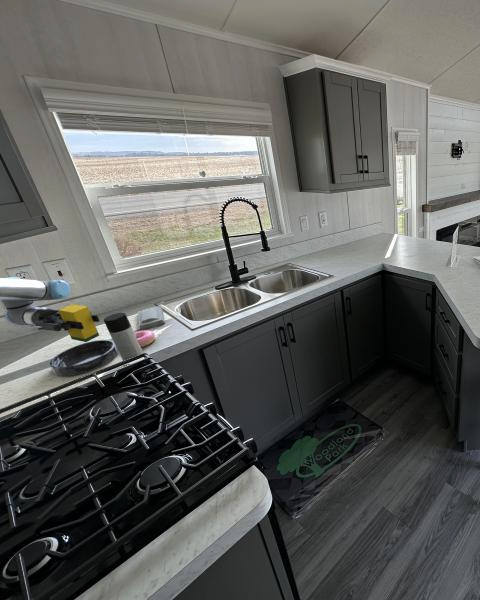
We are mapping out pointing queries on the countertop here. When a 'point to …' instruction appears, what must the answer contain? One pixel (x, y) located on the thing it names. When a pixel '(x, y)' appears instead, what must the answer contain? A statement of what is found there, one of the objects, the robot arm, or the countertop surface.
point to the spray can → (123, 335)
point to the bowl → (84, 357)
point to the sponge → (79, 315)
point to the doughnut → (145, 337)
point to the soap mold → (150, 317)
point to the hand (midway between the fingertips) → (89, 322)
